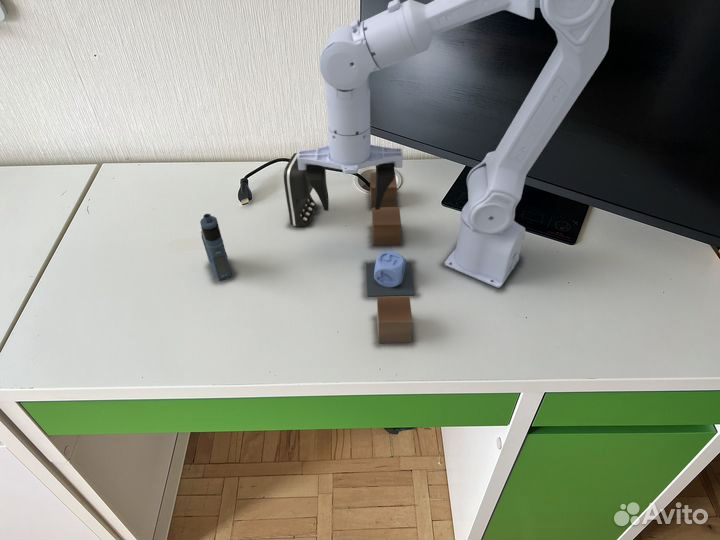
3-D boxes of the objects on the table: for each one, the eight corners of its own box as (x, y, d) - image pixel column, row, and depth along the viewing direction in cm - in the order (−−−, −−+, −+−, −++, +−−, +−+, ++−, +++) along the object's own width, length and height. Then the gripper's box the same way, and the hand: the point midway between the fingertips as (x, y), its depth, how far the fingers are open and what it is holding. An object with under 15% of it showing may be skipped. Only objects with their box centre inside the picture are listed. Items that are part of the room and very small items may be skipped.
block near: (410, 342, 73) (412, 321, 70) (378, 343, 73) (378, 322, 70) (408, 317, 77) (409, 296, 73) (376, 318, 77) (377, 297, 73)
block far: (396, 207, 95) (397, 187, 92) (371, 208, 95) (370, 187, 92) (394, 192, 98) (395, 172, 95) (370, 193, 98) (370, 172, 95)
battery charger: (310, 230, 91) (304, 174, 83) (289, 227, 91) (281, 171, 83) (322, 205, 95) (317, 150, 87) (302, 202, 96) (295, 147, 88)
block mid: (400, 245, 88) (401, 224, 84) (373, 245, 88) (373, 225, 84) (398, 227, 91) (399, 206, 88) (372, 228, 91) (372, 207, 88)
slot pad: (414, 295, 80) (414, 294, 80) (367, 296, 80) (367, 295, 80) (410, 263, 85) (410, 262, 84) (366, 264, 85) (366, 263, 84)
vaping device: (218, 283, 82) (200, 223, 74) (208, 262, 85) (190, 203, 77) (234, 277, 83) (218, 218, 74) (224, 257, 86) (208, 198, 78)
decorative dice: (399, 289, 80) (400, 271, 77) (373, 285, 81) (373, 266, 78) (405, 271, 83) (406, 253, 80) (380, 267, 84) (380, 248, 81)
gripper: (292, 142, 68) (302, 224, 77) (406, 139, 68) (401, 221, 77) (295, 114, 73) (304, 194, 82) (401, 112, 73) (398, 192, 82)
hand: (351, 206), depth 80 cm, fingers open, 7 cm apart
